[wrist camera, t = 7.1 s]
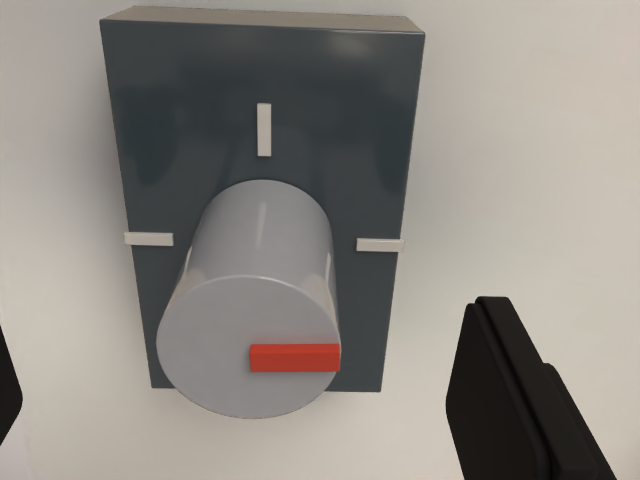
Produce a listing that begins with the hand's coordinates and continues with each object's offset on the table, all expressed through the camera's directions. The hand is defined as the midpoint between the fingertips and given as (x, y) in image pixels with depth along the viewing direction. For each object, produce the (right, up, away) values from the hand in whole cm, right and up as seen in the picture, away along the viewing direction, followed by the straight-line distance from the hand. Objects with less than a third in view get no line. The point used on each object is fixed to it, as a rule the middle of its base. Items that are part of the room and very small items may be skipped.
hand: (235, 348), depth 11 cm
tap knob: (0, +2, +5) cm, 6 cm away
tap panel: (0, +4, +8) cm, 9 cm away
